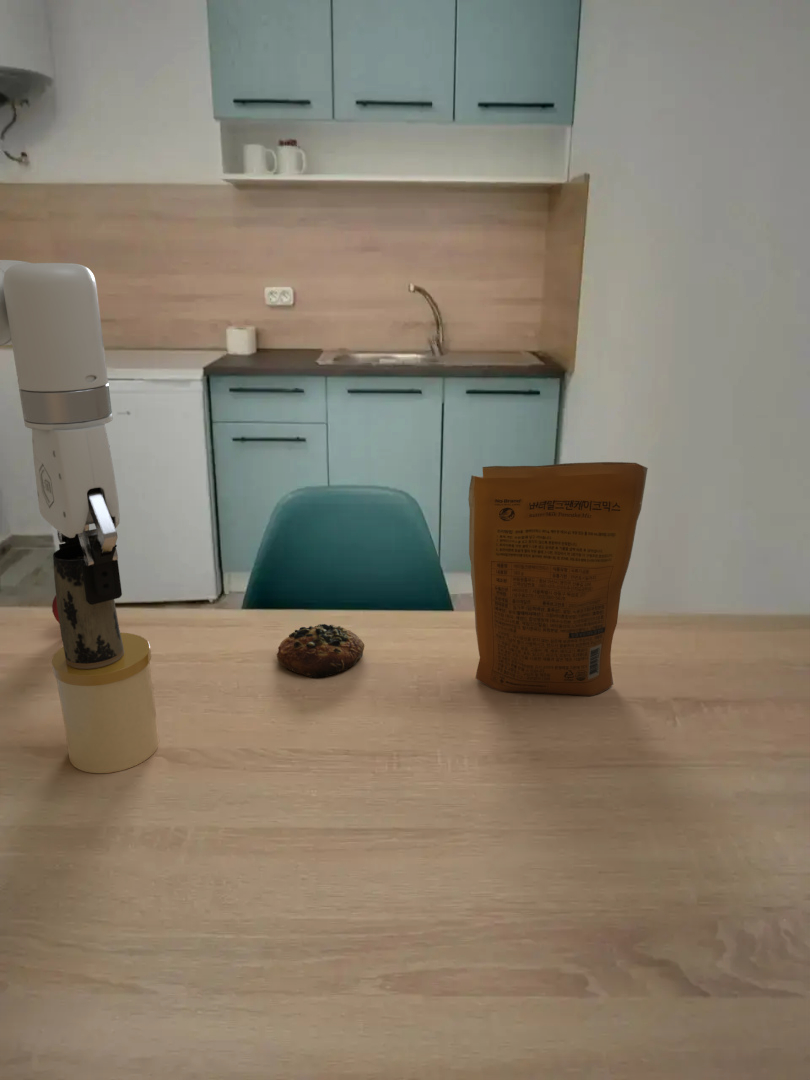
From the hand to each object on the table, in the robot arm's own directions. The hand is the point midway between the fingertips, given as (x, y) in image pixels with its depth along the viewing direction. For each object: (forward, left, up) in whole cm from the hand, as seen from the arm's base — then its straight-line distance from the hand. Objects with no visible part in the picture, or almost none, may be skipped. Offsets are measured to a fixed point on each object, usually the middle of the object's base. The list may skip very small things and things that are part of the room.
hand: (92, 587), depth 81 cm
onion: (-31, +6, -18) cm, 37 cm away
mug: (0, 0, -7) cm, 7 cm away
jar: (0, 0, -18) cm, 18 cm away
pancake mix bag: (+19, +45, -18) cm, 52 cm away
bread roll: (-4, +28, -18) cm, 34 cm away
